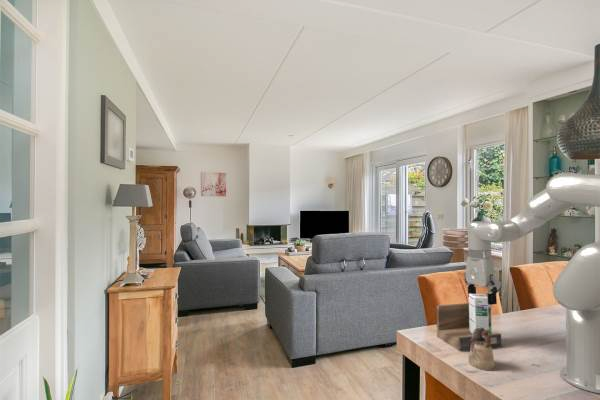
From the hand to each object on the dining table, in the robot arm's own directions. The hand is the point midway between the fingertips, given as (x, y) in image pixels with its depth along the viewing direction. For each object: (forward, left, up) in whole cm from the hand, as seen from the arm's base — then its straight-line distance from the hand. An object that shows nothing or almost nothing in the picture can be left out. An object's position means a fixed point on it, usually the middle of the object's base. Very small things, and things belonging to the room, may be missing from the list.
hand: (481, 300), depth 118 cm
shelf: (+2, +4, -16) cm, 16 cm away
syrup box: (+1, 0, -13) cm, 13 cm away
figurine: (-14, +13, -16) cm, 25 cm away
